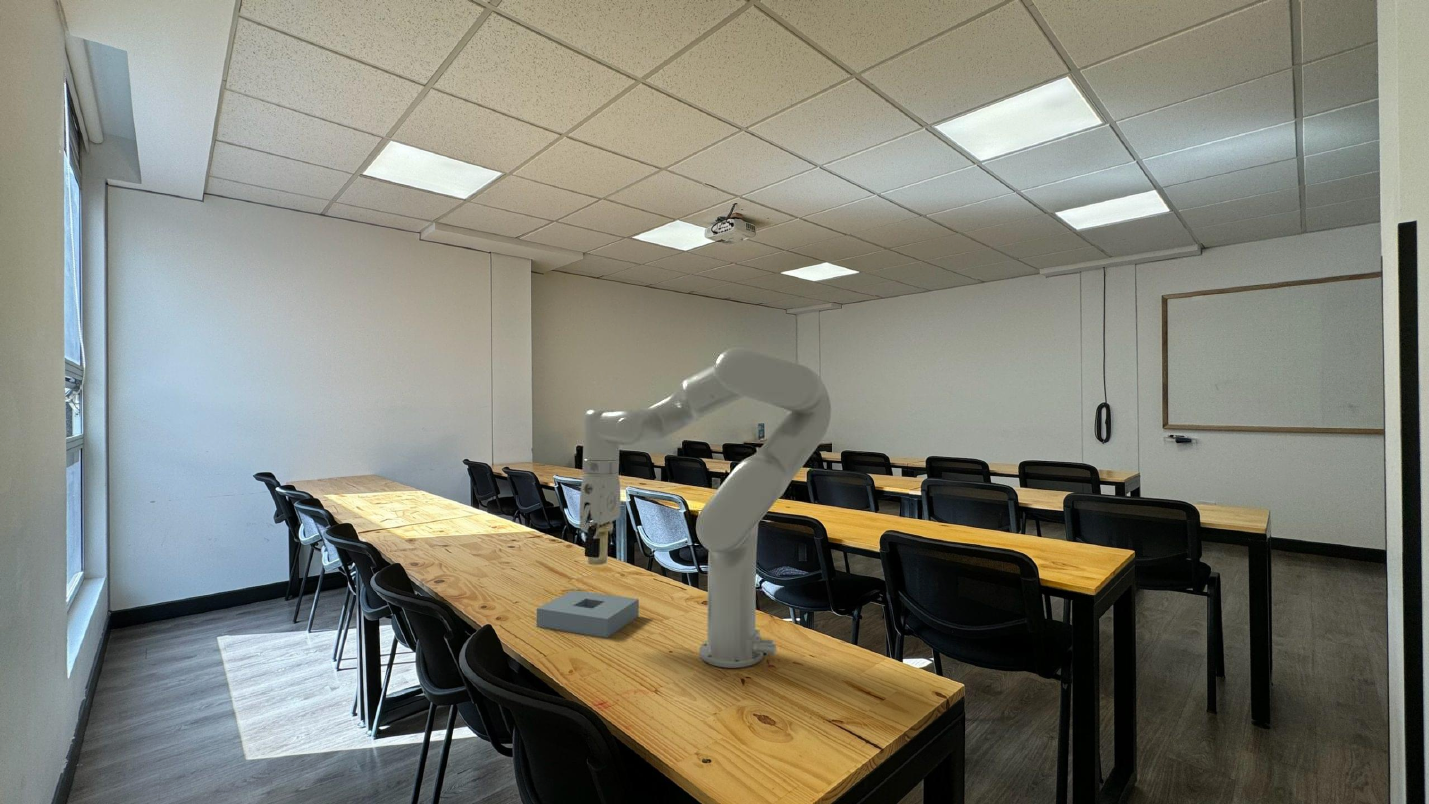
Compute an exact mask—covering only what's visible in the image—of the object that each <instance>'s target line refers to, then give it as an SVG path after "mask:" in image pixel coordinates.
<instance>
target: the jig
mask: <svg viewBox="0 0 1429 804" xmlns="http://www.w3.org/2000/svg"><path fill="white" fill-rule="evenodd" d="M639 603H640V599H639V598H633V597H628V596H621V595H611V594H604V593H598V592H597V593H596V592H589V591H584V590H583V591H581V590H573V589H572V590H570V591H569V592H567V593H564V594H563V595H561V596H559V597H556V598H555V599H552V600H551V601H548V602H547V603H545V604H543V605H540V606H539V607H537V608H536V627H538V628H544V629H550V630H555V631H562V632H567V633H573V634H581V635H585V636H592V637H597V638H598V637H599V638H603V639H604V638H605V639H608V638H609V637H611V636H612V635H614V634H615V633H617V632H618V631H620V630H621V629H622V628H624V627H625V626H628V624H630V623H631V622H633V621H634V620H635V619H637V618H638V617H639V616H640V615H639V613H640V611H639V610H640V609H639Z"/></svg>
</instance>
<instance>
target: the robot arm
mask: <svg viewBox="0 0 1429 804" xmlns="http://www.w3.org/2000/svg"><path fill="white" fill-rule="evenodd" d="M675 391H676V392H674V393H673V394H672V395H670V396H668V398H665V399H663V400H662V401H660V402H658V403H656V404H654V405H652V406H650V407H647V408H645V409H640V408H639V409H623V410H614V409H600V408H599V409H597V408H594V409H588V410H587V411H586V412H585V413H584V418H583V419H584V421H583V444H582V445H583V446H582V447H583V449H582V481H581V485H580V497H579V513H578V515H579V520H580V521H579V524H578V527H579V529H580V530H581V531H582V533H583V538H584V556H585V557H587V558H588V557H593V558H598V557H599V556H600V538H598V536H599V532H598V527H600V525H601V524H604V523H613V524H614V523H615V521H616V520H617V519H618V518H620V516H621V499H622V498H621V484H620V474H619V469H620V468H619V465H620V446H624V447H636V446H642V445H650V444H653V443H656V442H658V441H660V440H662V439H665V438H666V437H668V436H670V435H673V434H674V433H676V432H678V431H680V430H683V429H684V428H687V426H689V425H691V424H694V423H695V422H697V421H699V420H701V419H703V418H704V417H705V416H708V415H710V414H712V413H714V412H716V411H718V410H720V409H723V408H724V407H725V406H728V405H730V404H733V403H735V402H736V401H739V400H740V399H742V398H743V399H744V398H745V397H746V398H749V399H752V400H756V401H759V402H761V403H765V404H769V405H772V406H775V407H776V408H777V407H778V408H781V409H784V410H787V412H786V414H785V416H784V418H783V419H782V421H781V422H780V423H779V424H778V425H777V427H776V428H775V429H774V431H773V432H772V433H771V435H770V436H769V437H768V439H767V440H766V441H765V442H764V443H763V445H762V446H761V447H760V448H759V449H758V451H756V452H755V453H754V454H752V455H751V456H748V457H746V458H745V459H742V460H741V461H740V462H739V463H738V464H737V465H736V466H735V467H734V469H732V471H731V472H730V473H729V474H728V476H727V477H726V478H725V479H724V481H723V482H722V483H721V485H720V486H719V487H718V488H717V489H716V491H715V492H714V493H713V495H712V496H711V497H710V498H709V500H708V501H707V502H706V504H704V506H703V507H702V509H701V510H700V512H699V514H698V516H697V518H696V522H695V524H696V525H695V532H696V535H697V538H698V539H697V540H699V542H700V544H701V545H702V546H703V547H704V548H705V549H706V550H707V551H708V556H707V557H708V558H707V560H708V561H707V630H706V631H707V639H706V641H705V642H703V643H702V644H701V645H700V647H699V653H698V654H699V657H700V658H701V660H703V661H704V662H705V663H708V664H709V665H711V666H715V667H720V668H725V669H726V668H728V669H735V668H737V669H739V668H745V667H751V666H753V665H755V664H757V663H759V662H760V661H761V660H762V659H763V658H764V654H766V655H772V656H775V655H776V653H777V644H775V643H774V639H767V638H765V639H764V638H763V637H761V636H760V635H761V633H760V630H759V629H756V604H757V603H756V600H757V599H756V592H757V591H756V587H757V586H756V582H757V580H756V578H757V545H758V535H759V533H758V532H759V523H760V521H762V519H763V517H765V515H766V514H767V513H768V512H769V511H770V509H771V508H772V507H773V506H774V504H775V503H776V502H777V500H779V499H780V498H781V497H782V496H783V494H784V493H785V492H786V490H787V488H788V487H789V485H790V483H791V482H792V481H793V479H794V478H795V477H796V475H797V474H798V473H799V471H800V470H801V469H802V468H803V467H804V466H805V464H806V462H807V461H808V460H809V458H810V457H811V456H812V454H813V453H814V452H815V451H816V449H817V448H818V446H819V445H820V444H821V442H822V441H823V439H824V438H825V435H826V434H827V431H828V428H829V426H830V422H831V421H830V420H831V417H832V416H831V414H832V406H831V405H832V404H831V400H830V396H829V392H828V390H827V388H826V386H825V384H824V382H823V380H822V379H821V377H820V376H819V375H818V373H816V372H815V371H814V370H813V369H811V368H810V367H808V366H805V365H803V364H800V363H797V362H793V361H789V360H785V359H782V358H778V357H775V356H771V355H768V354H764V353H762V352H761V353H760V352H758V351H754V350H751V349H749V348H746V347H741V346H737V347H736V346H735V347H731V348H728V349H727V350H725V351H723V352H722V353H721V354H720V355H719V356H718V357H717V359H716V362H715V364H713V365H711V366H709V367H706V368H705V369H703V370H701V371H698V372H697V373H694V374H693V375H691V376H689V377H687V378H684V380H682V381H681V382H680V384H679V387H678V388H677V390H675ZM592 522H596V523H592ZM590 525H591V526H595V527H594V530H593V528H592V527H590ZM612 533H613V530H611V531H608V548H607V554H609V553H610V552H611V549H612Z"/></svg>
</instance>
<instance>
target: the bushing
mask: <svg viewBox="0 0 1429 804" xmlns="http://www.w3.org/2000/svg"><path fill="white" fill-rule="evenodd" d="M591 522H592V523H596V522H594V521H591ZM590 527H592V528H593V530H594V527H595V526H591V525H590ZM613 529H614V523H604V524H601V525H600V527H598V532H599V536H598V538H600V556H599V557H598V558H593V557H587V563H588V564H589V565H597V566H598V565H605V564H606V563H608V553H607V548H608V531H611V530H612V531H613Z"/></svg>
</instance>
